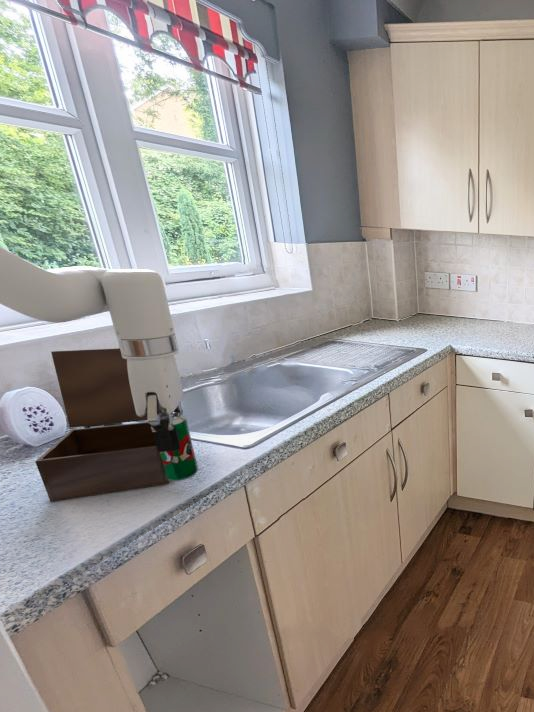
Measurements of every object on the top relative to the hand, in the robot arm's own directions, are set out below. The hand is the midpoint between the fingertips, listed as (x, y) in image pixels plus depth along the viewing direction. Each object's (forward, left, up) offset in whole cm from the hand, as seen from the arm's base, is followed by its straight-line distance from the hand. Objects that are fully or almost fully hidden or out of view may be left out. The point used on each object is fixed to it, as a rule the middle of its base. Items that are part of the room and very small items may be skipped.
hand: (173, 442), depth 82 cm
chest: (-12, +11, -10) cm, 19 cm away
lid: (-12, +19, +6) cm, 23 cm away
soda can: (0, 0, -7) cm, 7 cm away
